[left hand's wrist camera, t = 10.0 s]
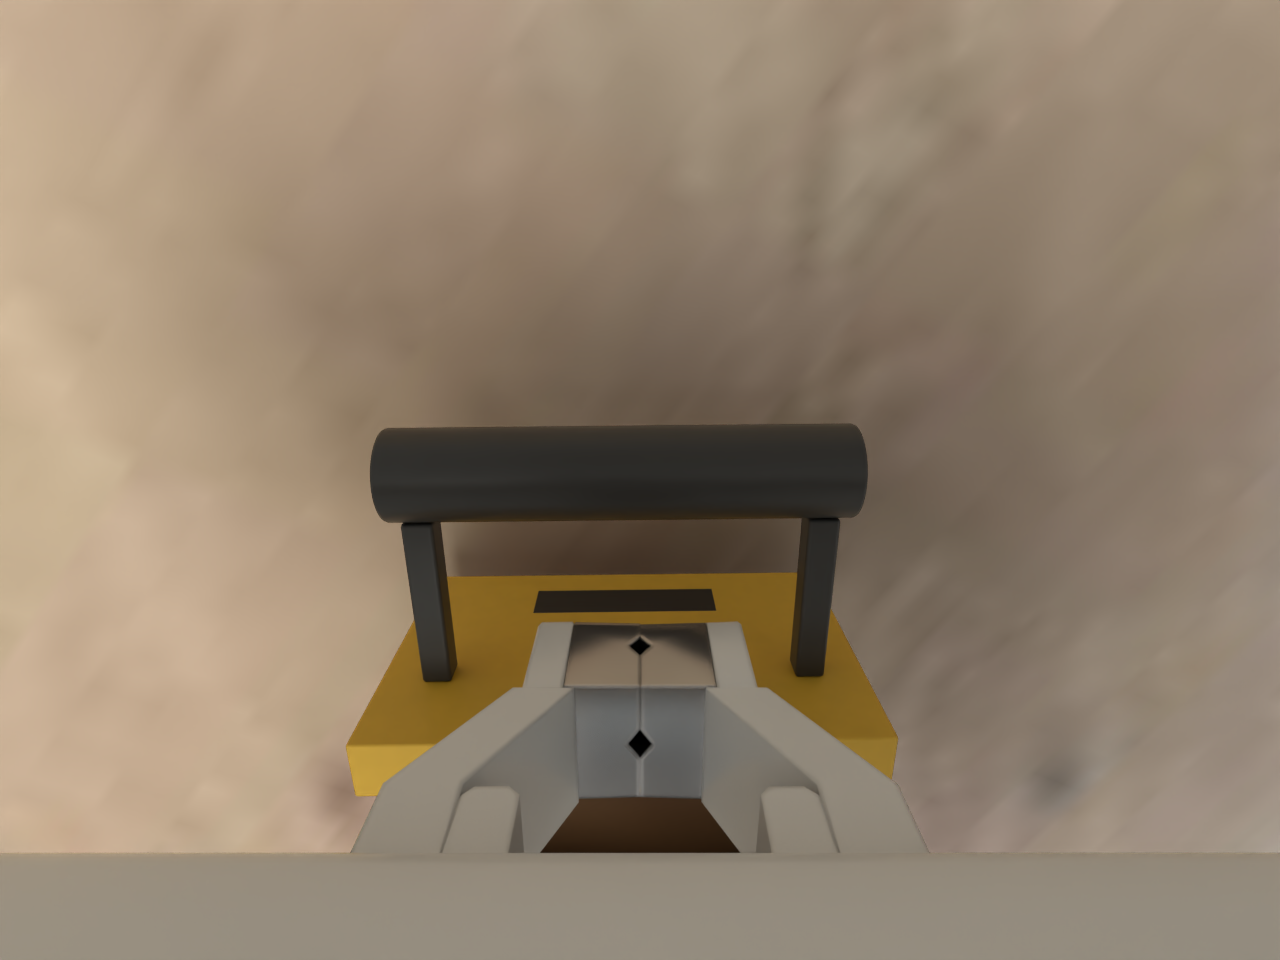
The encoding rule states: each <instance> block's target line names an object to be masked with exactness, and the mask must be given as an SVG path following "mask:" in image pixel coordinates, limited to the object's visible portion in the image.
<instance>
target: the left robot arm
mask: <svg viewBox="0 0 1280 960" xmlns="http://www.w3.org/2000/svg"><path fill="white" fill-rule="evenodd" d="M627 797H651V798H687V799H701V802H702V803H703V805H704V806H705V807H706V809H707V810H708V811H709V812H710V814H711V815H712V816H713V818H714V819H715V820H716V822H717V823H718V824H719V826H720V827H721V828H722V829H723V831H724V832H725V833H726V835H727V836H728V837H729V839H730V840H731V841H732V843H733V844H734V845H735V846H736V848H737V849H738V850H739V852H740V853H540V852H541V851H542V850H543V848H544V847H545V846H546V844H547V843H548V842H549V840H550V839H551V838H552V837H553V835H554V834H555V833H556V831H557V830H558V829H559V827H560V826H561V825H562V824H563V822H564V821H565V820H566V818H567V817H568V816H569V814H570V813H571V812H572V811H573V809H574V808H575V807H576V805H577V804H578V803H579V799H593V798H627ZM0 960H1280V853H929V850H928V848H927V846H926V844H925V842H924V840H923V838H922V835H921V833H920V831H919V829H918V827H917V825H916V822H915V820H914V818H913V816H912V814H911V812H910V810H909V807H908V805H907V803H906V801H905V799H904V797H903V794H902V792H901V790H900V788H899V786H898V784H897V783H895V782H894V781H893V780H891V779H890V778H889V777H887V776H886V775H884V774H883V773H882V772H880V771H879V770H878V769H876V768H875V767H874V766H872V765H871V764H870V763H868V762H867V761H866V760H864V759H863V758H862V757H860V756H859V755H858V754H856V753H855V752H854V751H852V750H851V749H849V748H848V747H847V746H845V745H844V744H843V743H841V742H840V741H839V740H837V739H836V738H835V737H833V736H832V735H831V734H829V733H828V732H827V731H825V730H824V729H823V728H821V727H820V726H819V725H817V724H816V723H814V722H813V721H812V720H810V719H809V718H808V717H806V716H805V715H804V714H802V713H801V712H800V711H798V710H797V709H796V708H794V707H793V706H792V705H790V704H789V703H788V702H786V701H785V700H783V699H782V698H781V697H779V696H778V695H777V694H775V693H774V692H773V691H771V690H770V689H769V688H766V687H757V683H756V679H755V675H754V672H753V668H752V664H751V660H750V656H749V653H748V649H747V645H746V641H745V637H744V634H743V630H742V626H741V624H740V623H739V622H738V621H735V622H710V623H675V624H640V623H594V622H575V624H574V623H573V622H542V623H541V624H540V625H539V626H538V629H537V633H536V637H535V641H534V644H533V648H532V652H531V656H530V660H529V664H528V668H527V671H526V675H525V679H524V683H523V687H514V688H511V689H510V690H509V691H507V692H506V693H505V694H503V695H502V696H501V697H499V698H498V699H496V700H495V701H494V702H492V703H491V704H490V705H488V706H487V707H486V708H484V709H483V710H482V711H480V712H479V713H478V714H476V715H475V716H473V717H472V718H471V719H469V720H468V721H467V722H465V723H464V724H463V725H461V726H460V727H459V728H457V729H456V730H455V731H453V732H452V733H450V734H449V735H448V736H446V737H445V738H444V739H442V740H441V741H440V742H438V743H437V744H436V745H434V746H433V747H432V748H430V749H429V750H427V751H426V752H425V753H423V754H422V755H421V756H419V757H418V758H417V759H415V760H414V761H413V762H411V763H410V764H409V765H407V766H406V767H404V768H403V769H402V770H400V771H399V772H398V773H396V774H395V775H394V776H392V777H391V778H390V779H388V780H387V781H386V782H384V783H383V785H382V787H381V789H380V791H379V793H378V795H377V797H376V799H375V802H374V804H373V806H372V808H371V810H370V812H369V814H368V816H367V819H366V821H365V823H364V825H363V827H362V829H361V831H360V833H359V836H358V838H357V840H356V842H355V844H354V846H353V848H352V850H351V853H0Z"/></svg>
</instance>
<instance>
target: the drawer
mask: <svg viewBox="0 0 1280 960" xmlns="http://www.w3.org/2000/svg"><path fill="white" fill-rule="evenodd" d="M867 478H868V464H867V454H866V448H865V443H864V440H863V437H862V434H861V432H860V430H859V429H858V427H857V426H855V425H853V424H759V425H655V426H551V427H448V428H386V429H384V430H382V431H381V432H380V433H379V435H378V436H377V438H376V440H375V443H374V446H373V450H372V455H371V464H370V484H371V493H372V498H373V502H374V505H375V508H376V511H377V513H378V515H379V516H380V518H381V519H382V520H384V521H386V522H388V523H403V524H402V526H401V531H402V538H403V544H404V551H405V558H406V565H407V572H408V579H409V586H410V593H411V600H412V607H413V614H414V621H413V623H412V625H411V627H410V629H409V631H408V632H407V634H406V636H405V638H404V640H403V642H402V644H401V645H400V647H399V649H398V651H397V653H396V655H395V656H394V658H393V660H392V662H391V664H390V666H389V667H388V669H387V671H386V673H385V675H384V677H383V678H382V680H381V682H380V684H379V686H378V688H377V689H376V691H375V693H374V695H373V697H372V699H371V701H370V702H369V704H368V706H367V708H366V710H365V712H364V713H363V715H362V717H361V719H360V721H359V723H358V724H357V726H356V728H355V730H354V732H353V734H352V735H351V737H350V739H349V741H348V743H347V745H346V750H347V755H348V760H349V765H350V770H351V775H352V780H353V785H354V790H355V795H356V796H377V795H378V793H379V791H380V789H381V787H382V785H383V783H384V782H386V781H387V780H388V779H390V778H391V777H392V776H394V775H395V774H396V773H398V772H399V771H400V770H402V769H403V768H404V767H406V766H407V765H409V764H410V763H411V762H413V761H414V760H415V759H417V758H418V757H419V756H421V755H422V754H423V753H425V752H426V751H427V750H429V749H430V748H432V747H433V746H434V745H436V744H437V743H438V742H440V741H441V740H442V739H444V738H445V737H446V736H448V735H449V734H450V733H452V732H453V731H455V730H456V729H457V728H459V727H460V726H461V725H463V724H464V723H465V722H467V721H468V720H469V719H471V718H472V717H473V716H475V715H476V714H478V713H479V712H480V711H482V710H483V709H484V708H486V707H487V706H488V705H490V704H491V703H492V702H494V701H495V700H496V699H498V698H499V697H501V696H502V695H503V694H505V693H506V692H507V691H509V690H510V689H511V688H514V687H523V683H524V679H525V675H526V671H527V668H528V664H529V660H530V656H531V652H532V648H533V644H534V641H535V637H536V633H537V629H538V626H539V625H540V624H541V623H542V622H573V623H574V624H575V622H594V623H640V624H675V623H710V622H735V621H738V622H739V623H740V624H741V626H742V630H743V634H744V637H745V641H746V645H747V649H748V653H749V656H750V660H751V664H752V668H753V672H754V675H755V679H756V683H757V687H766V688H769V689H770V690H771V691H773V692H774V693H775V694H777V695H778V696H779V697H781V698H782V699H783V700H785V701H786V702H788V703H789V704H790V705H792V706H793V707H794V708H796V709H797V710H798V711H800V712H801V713H802V714H804V715H805V716H806V717H808V718H809V719H810V720H812V721H813V722H814V723H816V724H817V725H819V726H820V727H821V728H823V729H824V730H825V731H827V732H828V733H829V734H831V735H832V736H833V737H835V738H836V739H837V740H839V741H840V742H841V743H843V744H844V745H845V746H847V747H848V748H849V749H851V750H852V751H854V752H855V753H856V754H858V755H859V756H860V757H862V758H863V759H864V760H866V761H867V762H868V763H870V764H871V765H872V766H874V767H875V768H876V769H878V770H879V771H880V772H882V773H883V774H884V775H886V776H887V777H889V778H890V779H891V780H892V774H893V768H894V761H895V755H896V749H897V743H898V737H897V735H896V733H895V731H894V729H893V727H892V725H891V723H890V721H889V719H888V717H887V715H886V713H885V712H884V710H883V708H882V706H881V704H880V702H879V700H878V698H877V696H876V694H875V692H874V690H873V689H872V687H871V685H870V683H869V681H868V679H867V677H866V675H865V673H864V671H863V669H862V667H861V666H860V664H859V662H858V660H857V658H856V656H855V654H854V652H853V650H852V648H851V646H850V644H849V643H848V641H847V639H846V637H845V635H844V633H843V631H842V629H841V627H840V625H839V623H838V621H837V619H836V618H835V616H834V614H833V612H832V610H831V602H832V593H833V584H834V574H835V565H836V556H837V547H838V538H839V528H840V520H839V519H838V518H851V517H854V516H856V515H857V514H858V513H859V512H860V510H861V508H862V506H863V503H864V499H865V495H866V489H867ZM769 518H802V525H801V536H800V548H799V559H798V571H797V572H795V573H712V574H629V575H546V576H463V577H447V573H446V565H445V556H444V548H443V540H442V532H441V524H440V522H500V521H589V520H679V519H769ZM540 853H740V852H739V850H738V849H737V848H736V846H735V845H734V844H733V843H732V841H731V840H730V839H729V837H728V836H727V835H726V833H725V832H724V831H723V829H722V828H721V827H720V826H719V824H718V823H717V822H716V820H715V819H714V818H713V816H712V815H711V814H710V812H709V811H708V810H707V809H706V807H705V806H704V805H703V803H702V802H701V799H687V798H651V797H627V798H593V799H579V803H578V804H577V805H576V807H575V808H574V809H573V811H572V812H571V813H570V814H569V816H568V817H567V818H566V820H565V821H564V822H563V824H562V825H561V826H560V827H559V829H558V830H557V831H556V833H555V834H554V835H553V837H552V838H551V839H550V840H549V842H548V843H547V844H546V846H545V847H544V848H543V850H542V851H541V852H540Z"/></svg>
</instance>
